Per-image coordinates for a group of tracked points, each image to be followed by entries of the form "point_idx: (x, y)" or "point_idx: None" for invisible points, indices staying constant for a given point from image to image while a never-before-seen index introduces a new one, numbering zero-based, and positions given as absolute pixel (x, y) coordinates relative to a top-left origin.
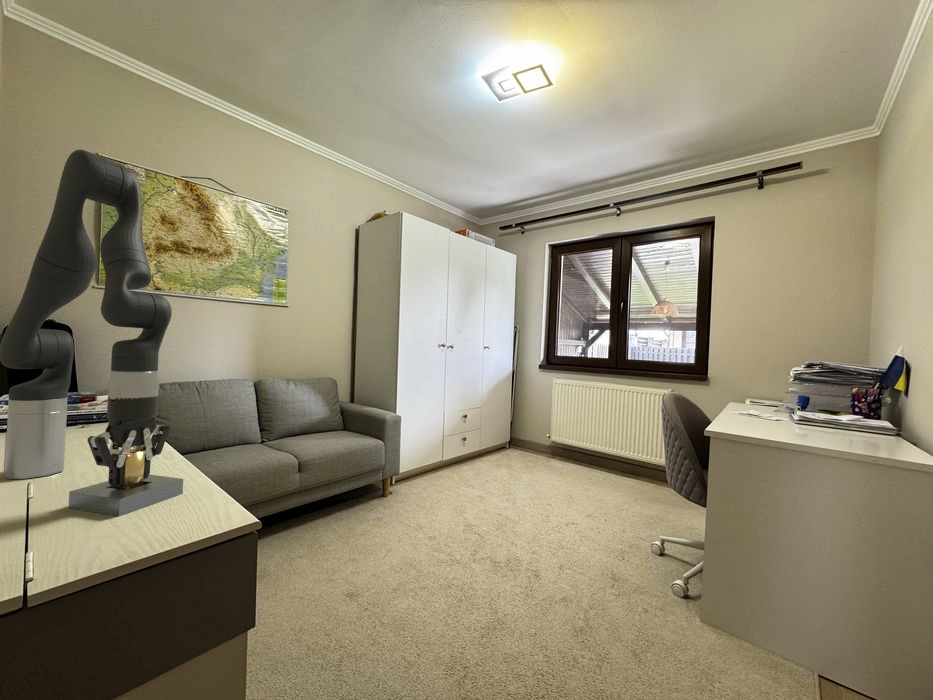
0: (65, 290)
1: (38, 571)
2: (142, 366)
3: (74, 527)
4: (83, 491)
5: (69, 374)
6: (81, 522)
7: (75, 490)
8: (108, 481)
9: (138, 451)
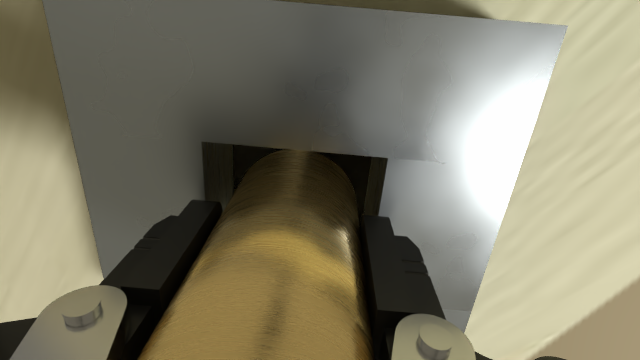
0: None
1: None
2: None
3: (38, 235)
4: (90, 84)
5: None
6: (72, 216)
7: (70, 5)
8: (151, 228)
9: None
